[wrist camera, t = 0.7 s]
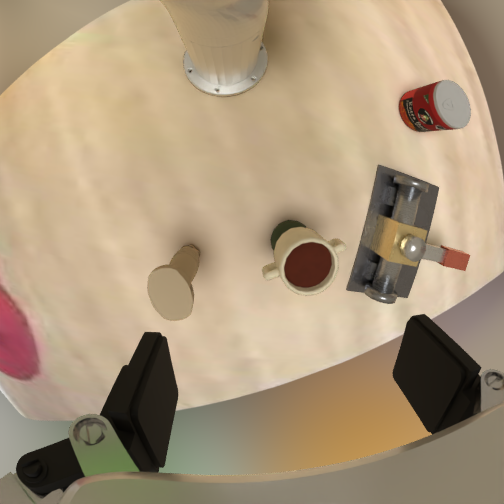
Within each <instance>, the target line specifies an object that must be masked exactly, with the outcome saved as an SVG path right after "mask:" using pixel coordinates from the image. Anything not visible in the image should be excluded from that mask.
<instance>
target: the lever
mask: <svg viewBox="0 0 504 504" xmlns="http://www.w3.org/2000/svg"><path fill="white" fill-rule="evenodd" d="M400 250H401V253H402V255H403V256H404V257H406V258H407V259H409V260H411V261H413V262H417V261H419V260H421V259H426V260H431V261H435V262H438V263H439V264H441V265H443V266H446V267H450V268H455V269H459V270H464V271H465V270H466V267H467V264H468V261H469V257H470V255H469V254H467V253H465V252H463V251H460V250H456V249H453V248H449V247H446V246H442V245H441V247H439V246H435V245H431V244H427V243H425V242H424V240H423V239H421V238H419V237H417V236H415V235H408V236H406V237H405V238H404V239H403V241H402V243H401V247H400Z"/></svg>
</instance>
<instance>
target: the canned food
mask: <svg viewBox="0 0 504 504" xmlns="http://www.w3.org/2000/svg"><path fill="white" fill-rule="evenodd" d="M399 110H400V114H401V117H402V119H403V121H404V122H405V123H406V125H407V126H409V127H410V128H411V129H413V130H416V131H419V132H426V131H438V130H453V129H460V128H463V127H465V126H466V125H467V124H468V122H469V120H470V116H471V109H470V104H469V100H468V98H467V96H466V94H465V92H464V91H463V89H462V88H461V87H460V86H459V85H458V84H456V83H455V82H453V81H450V80H443V81H439V82H436V83H433V84H429V85H426V86H423V87H420V88H417V89H415V90H412V91H409V92H407V93H405V94H404V96H403V97H402V98H401V100H400V104H399Z"/></svg>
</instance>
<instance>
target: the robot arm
mask: <svg viewBox="0 0 504 504" xmlns="http://www.w3.org/2000/svg"><path fill="white" fill-rule="evenodd" d="M160 1H161V2H162V3H163V4H164V6H165V7H166V8H167V10H168V11H169V13H170V15H171V17H172V19H173V21H174V23H175V25H176V27H177V30H178V32H179V34H180V36H181V39H182V41H183V43H184V45H185V47H186V52H185V54H184V60H183V64H184V70H185V73H186V75H187V77H188V79H189V80H190V82H191V83H192V84H193V85H194V86H195V87H196V88H197V89H199V90H201V91H202V92H204V93H207V94H210V95H214V96H234V95H238V94H241V93H243V92H245V91H247V90H249V89H251V88H252V87H254V86H255V85H256V84H257V83H258V82H259V81H260V80H261V78H262V77H263V75H264V73H265V70H266V68H267V63H268V55H267V51H266V48H265V46H264V44H263V42H262V37H263V33H264V28H265V24H266V19H267V14H268V7H269V5H268V0H160ZM260 49H261V50H260ZM190 71H192V72H191V73H189V72H190ZM252 79H255V81H252ZM217 90H220V91H219V92H216V91H217ZM480 369H481V367H480V366H479V365H478V364H477V363H476V362H475V361H474V360H473V359H472V358H471V357H470V356H469V355H468V354H467V353H466V352H465V351H464V350H463V349H462V348H461V347H460V346H459V345H458V344H457V343H456V342H455V341H454V340H453V339H452V338H450V337H449V336H448V335H447V334H446V333H445V332H444V331H443V330H442V329H441V328H440V327H438V326H437V325H436V324H435V323H434V322H433V321H432V320H431V319H430V318H429V317H428V316H426V315H425V314H421V315H415V316H412V317H411V318H410V320H409V321H408V322H407V324H406V328H405V332H404V336H403V339H402V343H401V347H400V350H399V353H398V356H397V360H396V363H395V366H394V369H393V378H394V380H395V381H396V383H397V384H398V386H399V387H400V389H401V390H402V392H403V393H404V395H405V396H406V398H407V400H408V401H409V403H410V404H411V406H412V407H413V409H414V411H415V412H416V414H417V415H418V417H419V418H420V420H421V421H422V423H423V425H424V426H425V428H426V430H427V431H428V432H431V433H432V435H430V436H428V437H425V438H423V439H420V440H418V441H415V442H412V443H409V444H406V445H404V446H400V447H398V448H394V449H391V450H388V451H385V452H382V453H378V454H375V455H371V456H368V457H364V458H360V459H356V460H351V461H347V462H343V463H338V464H333V465H328V466H322V467H317V468H310V469H304V470H297V471H288V472H279V473H268V474H252V475H191V474H172V473H158V472H159V467H162V468H163V467H164V466H165V461H166V455H167V450H168V444H169V440H170V435H171V429H172V424H173V420H174V415H175V410H176V405H177V400H178V388H177V384H176V380H175V375H174V371H173V366H172V362H171V357H170V352H169V347H168V342H167V338H166V337H165V336H162V335H161V333H160V332H145V333H144V334H143V336H142V338H141V340H140V342H139V344H138V346H137V348H136V350H135V352H134V354H133V357H132V359H131V361H130V363H129V365H124V366H123V367H122V369H121V371H120V373H119V375H118V377H117V379H116V381H115V383H114V385H113V387H112V390H111V392H110V394H109V396H108V398H107V400H106V402H105V404H104V407H103V409H102V411H101V413H100V415H97V414H87V415H83V416H81V417H79V418H77V419H76V420H75V421H73V422H72V424H71V426H70V427H69V432H68V434H69V438H67V439H64V440H62V441H60V442H57V443H54V444H52V445H49V446H46V447H44V448H41V449H38V450H35V451H33V452H30V453H27V454H25V455H24V456H22V457H21V458H20V459H19V461H18V463H17V467H16V473H15V474H14V475H13V474H12V473H11V472H10V473H8V474H7V475H5V476H4V477H3V478H1V479H0V504H504V374H503V373H502V372H500V371H497V370H491V369H490V370H486V371H484V372H483V373H482V375H481V377H480V376H479V375H478V373H479V372H480Z"/></svg>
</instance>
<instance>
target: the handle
mask: <svg viewBox="0 0 504 504" xmlns="http://www.w3.org/2000/svg"><path fill="white" fill-rule="evenodd" d="M199 257H200V252H199V250H196V249H195V248H194V246H193V245H190V246H184V247H182V248H181V249H180V250H179V251H178V252H177V253H176V254H175V255H174V257H173V258H172V260H171V262H170V264H169V265H163V266H159V267H157V268H156V269H154V270H153V271H152V272H151V274H150V275H149V277H148V287H147V288H148V295H149V297H150V300H151V303H152V305H153V307H154V308H155V310H156V311H157V312H158V313H159V314H160V315H161V316H162V317H163V318H164V319H166V320H170V321H178V320H183V319H185V318H187V317H188V316H189V315H190V314H191V312H192V307H193V301H194V292H193V287H192V284H191V282H192V280H193V279H194V277H195V275H196V273H197V270H198V267H199Z"/></svg>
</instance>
